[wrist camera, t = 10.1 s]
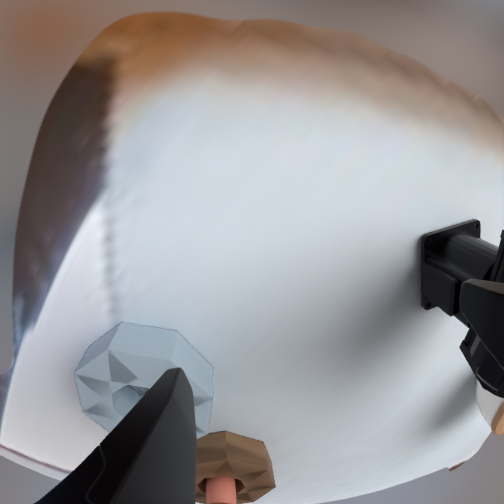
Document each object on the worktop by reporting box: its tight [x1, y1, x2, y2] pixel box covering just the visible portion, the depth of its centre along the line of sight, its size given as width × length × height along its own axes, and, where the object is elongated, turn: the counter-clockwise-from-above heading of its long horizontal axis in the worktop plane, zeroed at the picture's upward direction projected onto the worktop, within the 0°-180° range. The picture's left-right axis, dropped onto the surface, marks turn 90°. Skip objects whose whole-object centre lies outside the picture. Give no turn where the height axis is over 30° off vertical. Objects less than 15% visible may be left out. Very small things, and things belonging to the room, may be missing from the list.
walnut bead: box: [195, 431, 276, 504], centre depth 25 cm, size 10×10×4 cm
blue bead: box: [74, 322, 213, 439], centre depth 21 cm, size 10×10×4 cm
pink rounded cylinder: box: [206, 476, 237, 504], centre depth 23 cm, size 3×3×7 cm
